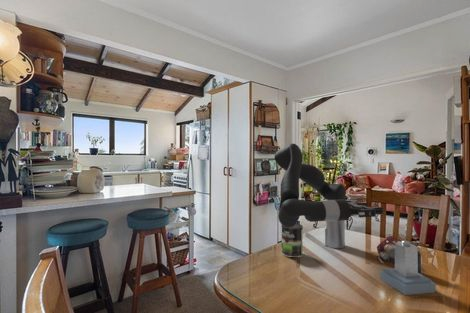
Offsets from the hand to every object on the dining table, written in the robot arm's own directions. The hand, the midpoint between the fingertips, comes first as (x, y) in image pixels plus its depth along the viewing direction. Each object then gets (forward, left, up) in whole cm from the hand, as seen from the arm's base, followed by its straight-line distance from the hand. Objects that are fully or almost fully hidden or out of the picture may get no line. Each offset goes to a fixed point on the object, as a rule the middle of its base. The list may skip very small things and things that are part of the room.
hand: (374, 207), depth 93 cm
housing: (+9, +8, -25) cm, 28 cm away
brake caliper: (+2, +31, -29) cm, 42 cm away
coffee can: (-38, +11, -29) cm, 49 cm away
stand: (+9, +8, -29) cm, 31 cm away
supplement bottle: (+10, +21, -29) cm, 37 cm away
